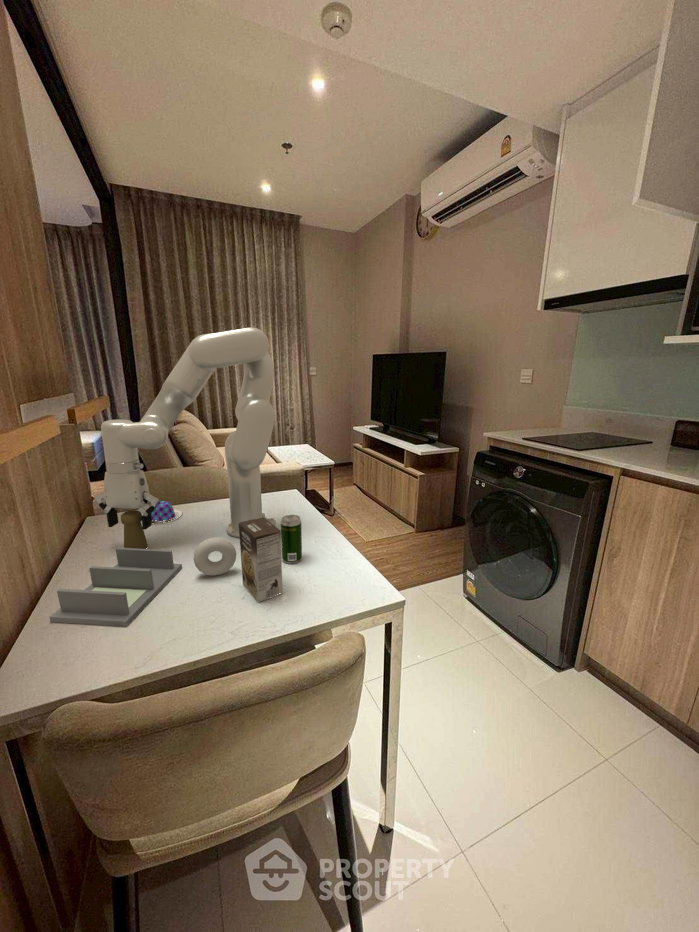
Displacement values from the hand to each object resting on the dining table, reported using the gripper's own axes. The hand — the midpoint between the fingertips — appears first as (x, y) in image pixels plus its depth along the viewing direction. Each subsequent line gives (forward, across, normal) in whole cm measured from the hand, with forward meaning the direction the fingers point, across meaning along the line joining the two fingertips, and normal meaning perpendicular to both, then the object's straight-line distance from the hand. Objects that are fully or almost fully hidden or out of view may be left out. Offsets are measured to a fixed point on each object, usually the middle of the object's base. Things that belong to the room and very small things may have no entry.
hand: (130, 526), depth 103 cm
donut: (+6, -29, +11) cm, 31 cm away
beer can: (+6, -46, +2) cm, 46 cm away
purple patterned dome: (+7, +4, -22) cm, 23 cm away
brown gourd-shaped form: (+7, -1, 0) cm, 7 cm away
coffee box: (+6, -42, +16) cm, 45 cm away
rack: (+7, -11, +20) cm, 23 cm away
